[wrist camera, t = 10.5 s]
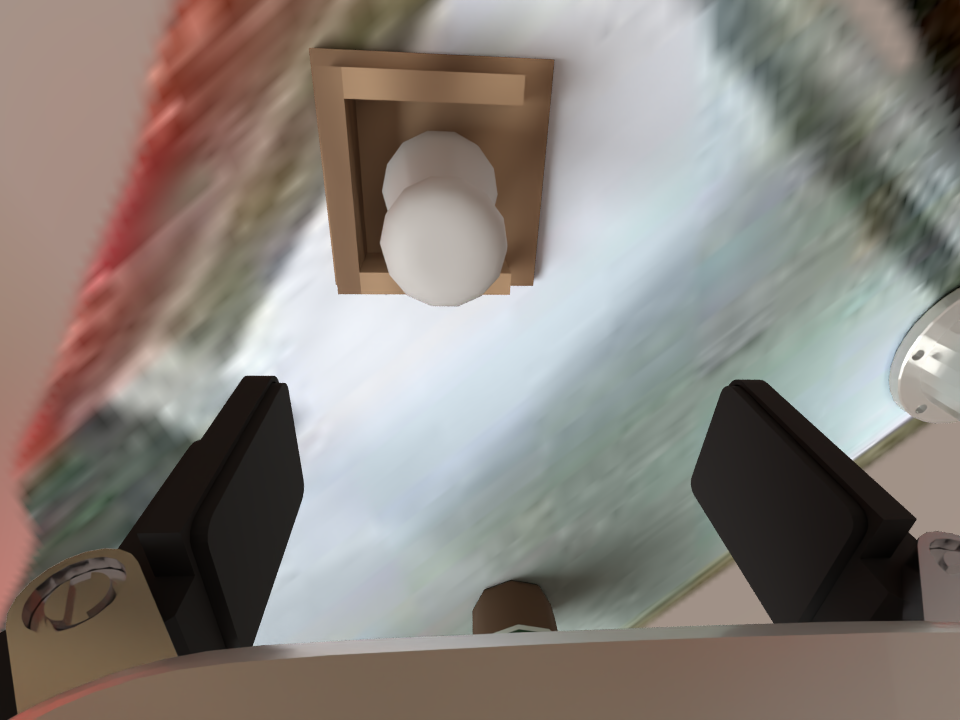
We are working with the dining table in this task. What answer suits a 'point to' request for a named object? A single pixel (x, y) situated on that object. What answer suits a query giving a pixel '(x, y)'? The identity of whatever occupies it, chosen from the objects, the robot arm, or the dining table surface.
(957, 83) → the dining table surface
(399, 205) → the salt shaker
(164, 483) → the robot arm
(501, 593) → the beer bottle
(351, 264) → the walnut U-rest
